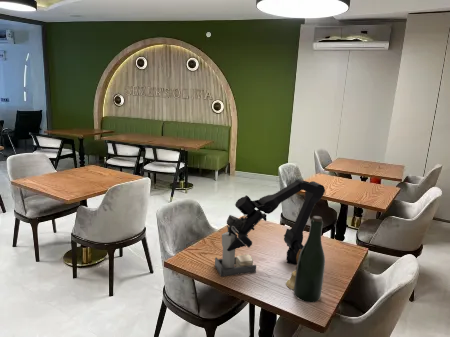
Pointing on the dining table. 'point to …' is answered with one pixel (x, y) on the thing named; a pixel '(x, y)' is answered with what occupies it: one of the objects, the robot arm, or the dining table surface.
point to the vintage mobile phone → (228, 256)
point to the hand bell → (293, 275)
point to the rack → (233, 270)
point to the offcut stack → (244, 260)
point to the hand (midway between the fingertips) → (225, 247)
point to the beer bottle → (311, 265)
